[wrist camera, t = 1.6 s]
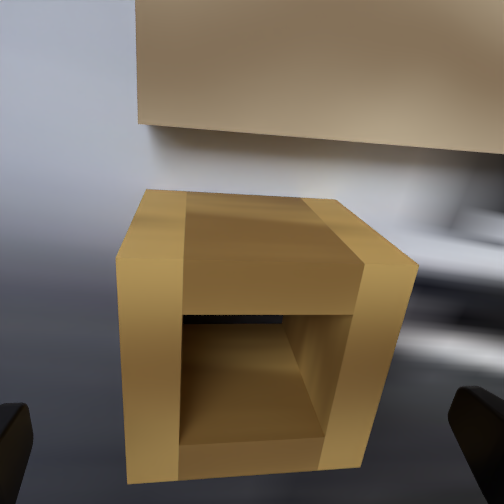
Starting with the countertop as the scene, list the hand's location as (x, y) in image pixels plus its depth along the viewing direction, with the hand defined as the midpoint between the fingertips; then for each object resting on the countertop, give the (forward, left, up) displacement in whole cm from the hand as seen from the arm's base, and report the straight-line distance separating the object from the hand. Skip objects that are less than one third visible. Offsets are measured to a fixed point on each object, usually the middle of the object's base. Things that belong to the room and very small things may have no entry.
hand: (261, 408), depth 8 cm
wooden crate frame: (0, 0, -6) cm, 6 cm away
